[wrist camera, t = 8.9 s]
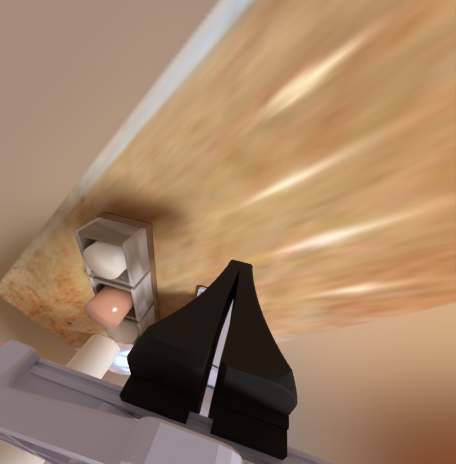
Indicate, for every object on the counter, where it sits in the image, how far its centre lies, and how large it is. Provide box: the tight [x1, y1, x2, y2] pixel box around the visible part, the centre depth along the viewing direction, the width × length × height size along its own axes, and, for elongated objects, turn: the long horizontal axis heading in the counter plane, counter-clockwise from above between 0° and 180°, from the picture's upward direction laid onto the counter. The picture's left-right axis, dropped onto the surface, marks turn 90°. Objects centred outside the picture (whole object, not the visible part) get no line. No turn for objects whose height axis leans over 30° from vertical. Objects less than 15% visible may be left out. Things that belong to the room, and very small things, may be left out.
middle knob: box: [85, 285, 134, 328], centre depth 26 cm, size 5×5×4 cm
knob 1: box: [83, 241, 127, 279], centre depth 24 cm, size 5×5×4 cm
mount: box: [74, 212, 160, 345], centre depth 29 cm, size 21×7×4 cm, turn 173°
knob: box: [107, 321, 139, 344], centre depth 32 cm, size 5×5×4 cm
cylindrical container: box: [0, 334, 120, 464], centre depth 34 cm, size 7×7×25 cm
